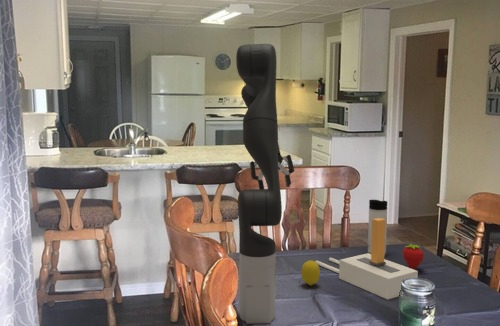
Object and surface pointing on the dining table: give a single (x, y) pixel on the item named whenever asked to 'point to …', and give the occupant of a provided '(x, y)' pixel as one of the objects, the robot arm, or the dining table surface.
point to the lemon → (310, 272)
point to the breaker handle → (378, 242)
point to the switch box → (375, 275)
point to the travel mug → (375, 211)
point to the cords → (328, 265)
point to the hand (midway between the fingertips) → (275, 189)
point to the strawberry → (413, 255)
